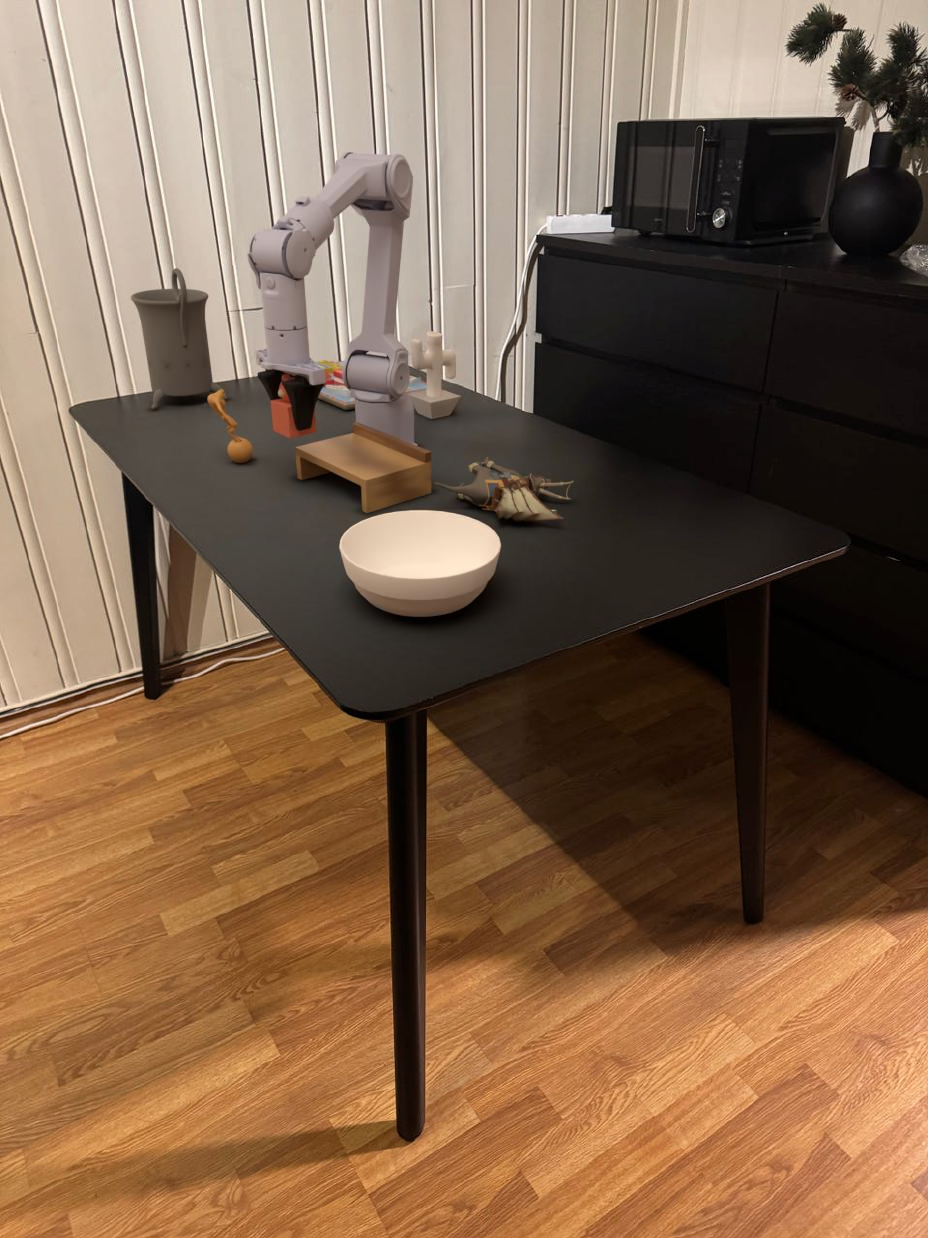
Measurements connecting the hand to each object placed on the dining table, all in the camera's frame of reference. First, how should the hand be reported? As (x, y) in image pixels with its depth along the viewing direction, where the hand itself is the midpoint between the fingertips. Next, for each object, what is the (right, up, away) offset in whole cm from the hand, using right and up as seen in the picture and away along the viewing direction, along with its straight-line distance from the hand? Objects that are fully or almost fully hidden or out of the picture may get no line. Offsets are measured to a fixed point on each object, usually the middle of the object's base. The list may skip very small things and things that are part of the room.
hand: (294, 424), depth 124 cm
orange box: (0, -1, 0) cm, 1 cm away
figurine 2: (+19, +11, +41) cm, 46 cm away
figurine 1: (-13, -3, +16) cm, 20 cm away
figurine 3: (+31, -13, 0) cm, 34 cm away
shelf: (+9, -7, +8) cm, 14 cm away
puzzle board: (+1, +21, +57) cm, 61 cm away
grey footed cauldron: (-30, +15, +45) cm, 56 cm away
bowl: (+19, -25, -22) cm, 39 cm away
